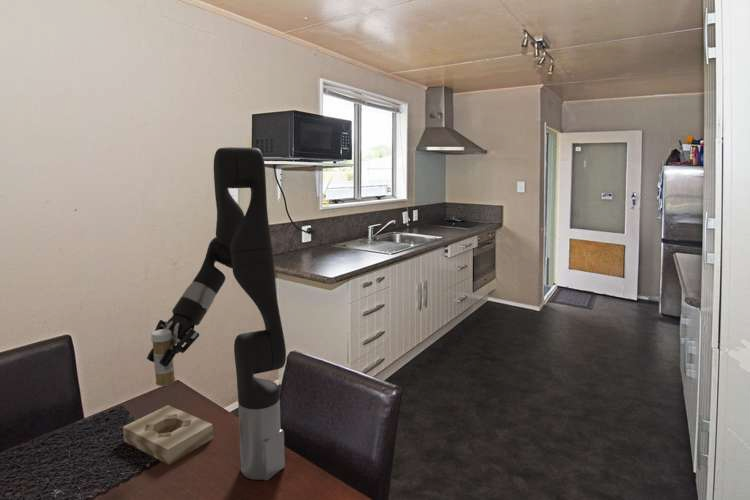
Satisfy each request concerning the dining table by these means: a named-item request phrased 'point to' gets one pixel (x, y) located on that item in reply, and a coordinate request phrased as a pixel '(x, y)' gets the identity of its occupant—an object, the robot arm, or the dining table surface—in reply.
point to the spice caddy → (168, 434)
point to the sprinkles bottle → (160, 346)
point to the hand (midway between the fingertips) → (156, 362)
